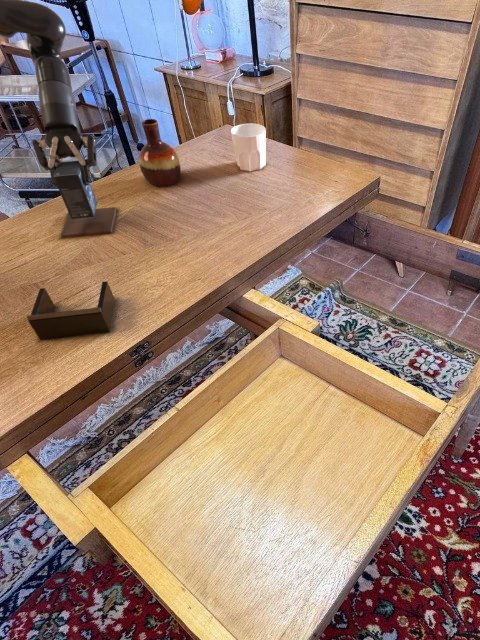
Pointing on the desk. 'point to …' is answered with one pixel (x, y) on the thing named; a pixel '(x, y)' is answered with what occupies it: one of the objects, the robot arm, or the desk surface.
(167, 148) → the vase
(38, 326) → the dark brown open tray
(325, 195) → the desk surface
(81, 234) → the plate
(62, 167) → the box
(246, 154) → the cup
